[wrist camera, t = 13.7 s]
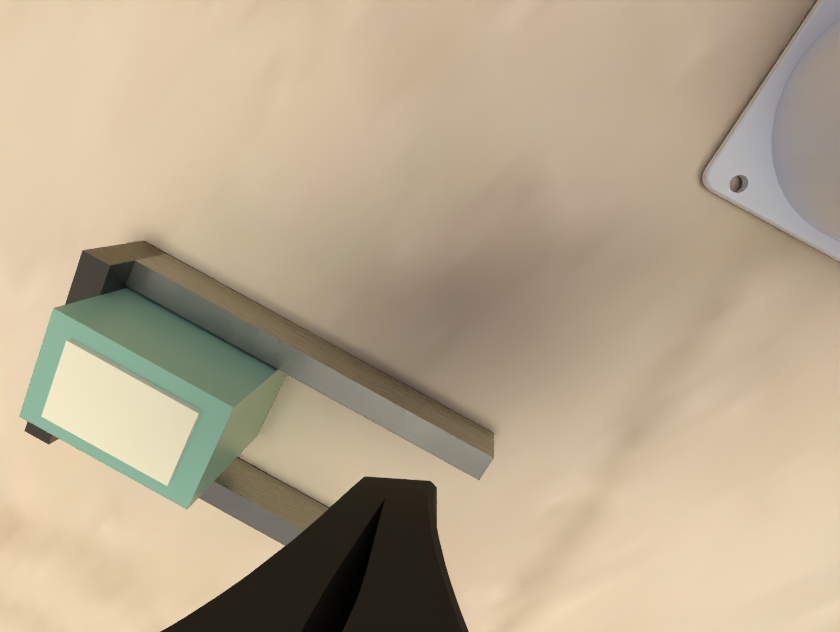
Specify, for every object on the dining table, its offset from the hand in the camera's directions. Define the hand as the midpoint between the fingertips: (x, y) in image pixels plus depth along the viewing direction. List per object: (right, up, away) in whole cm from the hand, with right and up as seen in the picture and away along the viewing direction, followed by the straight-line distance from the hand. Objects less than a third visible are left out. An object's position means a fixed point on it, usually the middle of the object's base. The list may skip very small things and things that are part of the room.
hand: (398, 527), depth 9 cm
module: (-8, +2, +11) cm, 14 cm away
